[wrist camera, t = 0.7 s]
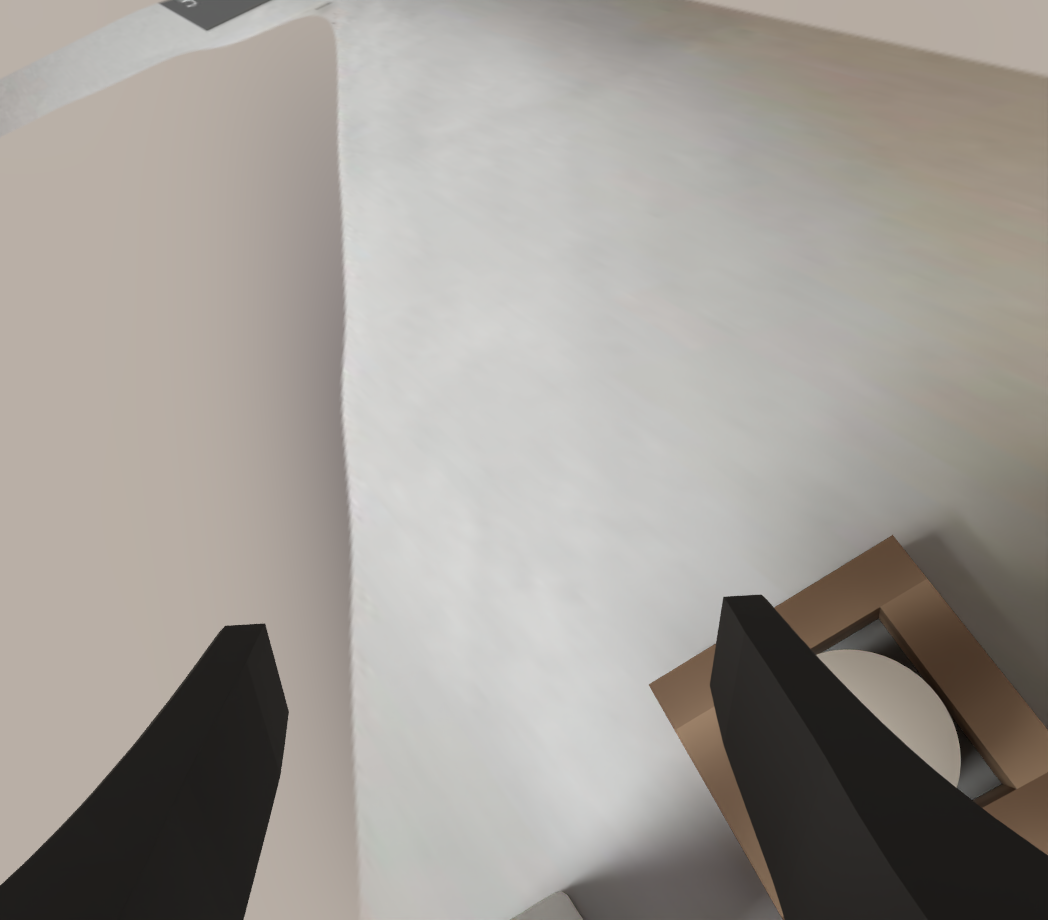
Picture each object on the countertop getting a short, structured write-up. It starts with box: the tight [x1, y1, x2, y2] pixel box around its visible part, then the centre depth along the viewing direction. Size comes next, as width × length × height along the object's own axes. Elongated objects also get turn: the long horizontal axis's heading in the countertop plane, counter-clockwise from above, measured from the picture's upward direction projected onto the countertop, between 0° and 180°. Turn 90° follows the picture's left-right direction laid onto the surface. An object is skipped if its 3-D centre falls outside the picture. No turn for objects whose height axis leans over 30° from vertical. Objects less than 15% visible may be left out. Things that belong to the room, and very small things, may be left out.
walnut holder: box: [649, 535, 1048, 920], centre depth 23 cm, size 8×8×2 cm
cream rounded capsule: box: [817, 649, 961, 788], centre depth 22 cm, size 4×4×6 cm
